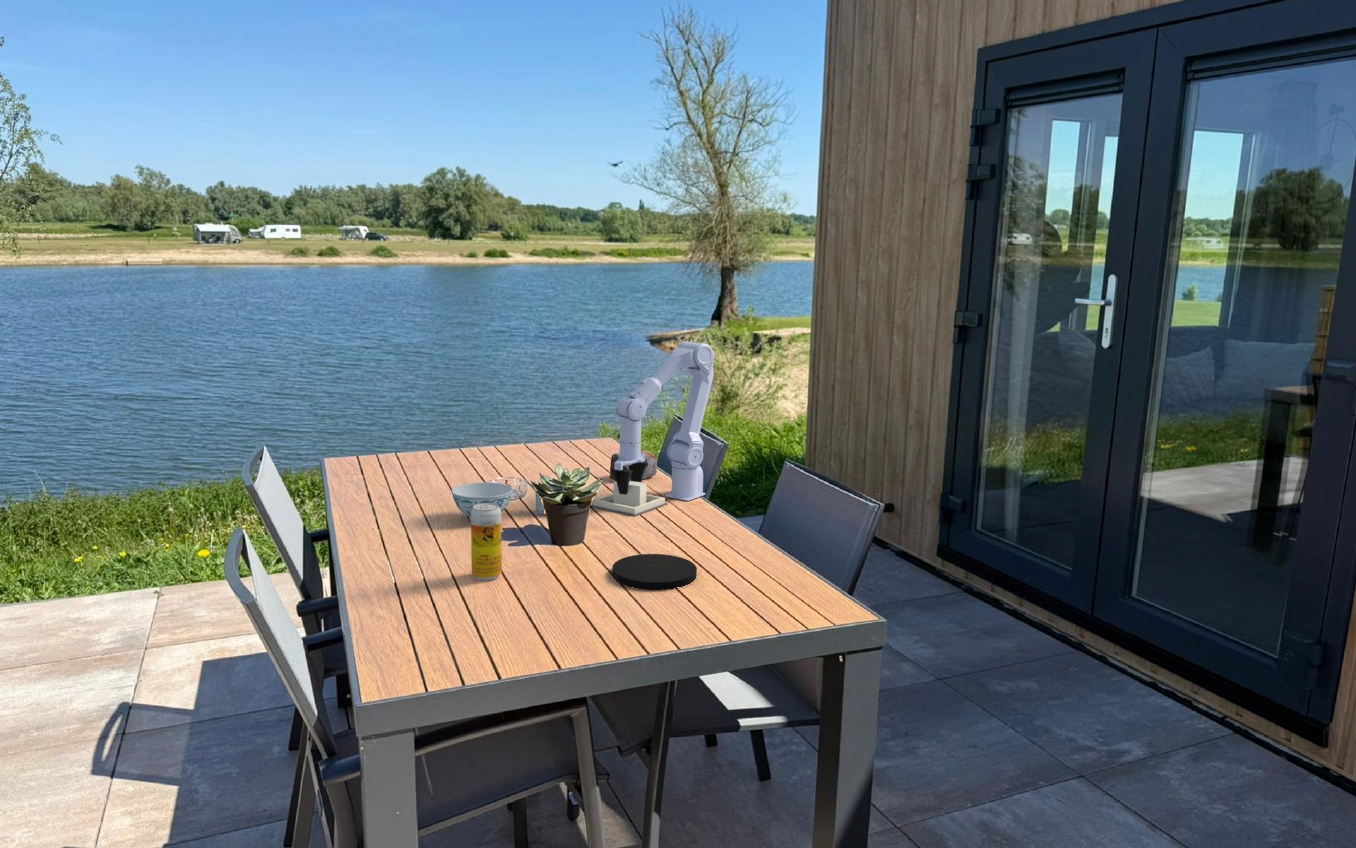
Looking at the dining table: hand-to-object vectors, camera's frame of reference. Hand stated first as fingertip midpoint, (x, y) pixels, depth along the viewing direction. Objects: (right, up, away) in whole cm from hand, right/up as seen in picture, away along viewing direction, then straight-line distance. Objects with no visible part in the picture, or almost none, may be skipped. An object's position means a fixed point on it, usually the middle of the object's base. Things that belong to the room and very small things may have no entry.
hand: (629, 490), depth 234 cm
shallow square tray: (0, -4, +1) cm, 4 cm away
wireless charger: (+8, -14, -52) cm, 55 cm away
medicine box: (-20, -5, -8) cm, 22 cm away
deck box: (0, -4, +1) cm, 4 cm away
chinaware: (-36, -6, -15) cm, 40 cm away
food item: (-1, +1, +31) cm, 31 cm away
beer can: (-26, -14, -56) cm, 63 cm away
